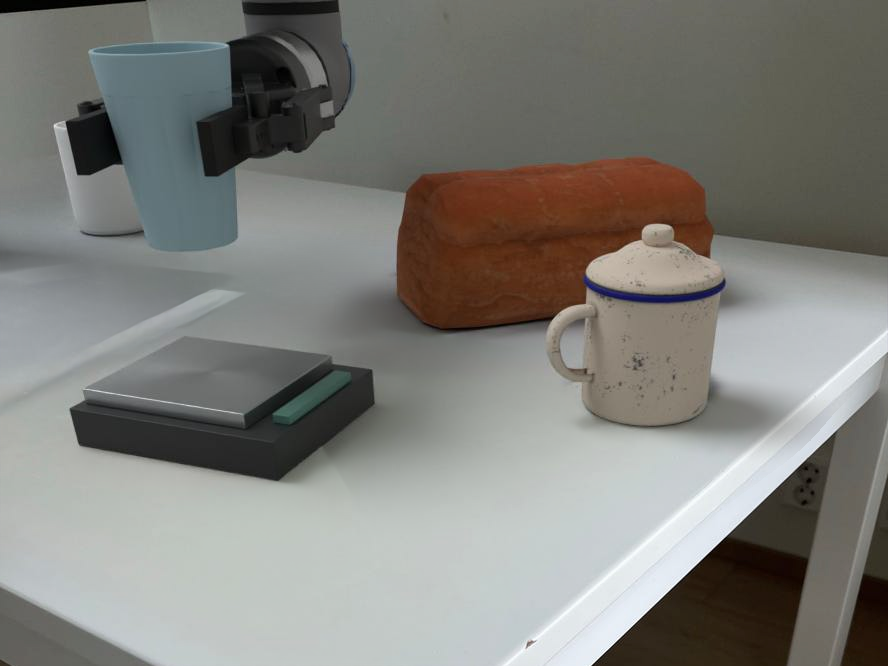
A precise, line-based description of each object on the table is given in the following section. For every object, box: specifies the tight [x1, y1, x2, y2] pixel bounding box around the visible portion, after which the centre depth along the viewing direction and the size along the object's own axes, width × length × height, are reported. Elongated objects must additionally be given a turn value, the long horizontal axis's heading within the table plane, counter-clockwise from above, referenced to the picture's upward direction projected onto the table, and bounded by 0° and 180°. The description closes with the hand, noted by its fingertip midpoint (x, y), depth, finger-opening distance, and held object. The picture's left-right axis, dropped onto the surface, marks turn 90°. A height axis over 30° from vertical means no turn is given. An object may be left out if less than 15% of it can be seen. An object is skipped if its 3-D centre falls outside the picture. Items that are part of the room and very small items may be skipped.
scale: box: [68, 335, 376, 481], centre depth 66 cm, size 15×13×4 cm
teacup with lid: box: [545, 224, 727, 427], centre depth 66 cm, size 12×9×12 cm
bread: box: [395, 156, 716, 329], centre depth 87 cm, size 16×27×11 cm, turn 110°
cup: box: [88, 41, 239, 253], centre depth 59 cm, size 8×8×10 cm
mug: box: [53, 120, 144, 236], centre depth 112 cm, size 9×12×11 cm
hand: (142, 149), depth 54 cm, fingers closed on cup, 7 cm apart
